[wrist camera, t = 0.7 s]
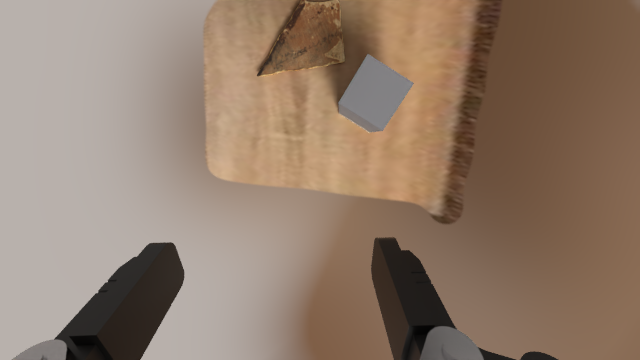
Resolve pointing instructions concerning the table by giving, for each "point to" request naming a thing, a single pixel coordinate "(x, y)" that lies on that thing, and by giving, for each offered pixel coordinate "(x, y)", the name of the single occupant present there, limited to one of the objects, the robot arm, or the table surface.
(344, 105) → the sanding block
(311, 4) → the shard
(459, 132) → the table surface
